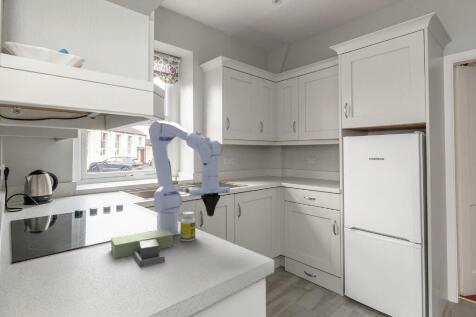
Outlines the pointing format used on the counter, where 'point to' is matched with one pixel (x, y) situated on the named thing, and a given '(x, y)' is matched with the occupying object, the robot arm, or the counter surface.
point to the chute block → (148, 249)
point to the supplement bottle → (187, 227)
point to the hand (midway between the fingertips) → (210, 215)
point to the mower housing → (131, 245)
